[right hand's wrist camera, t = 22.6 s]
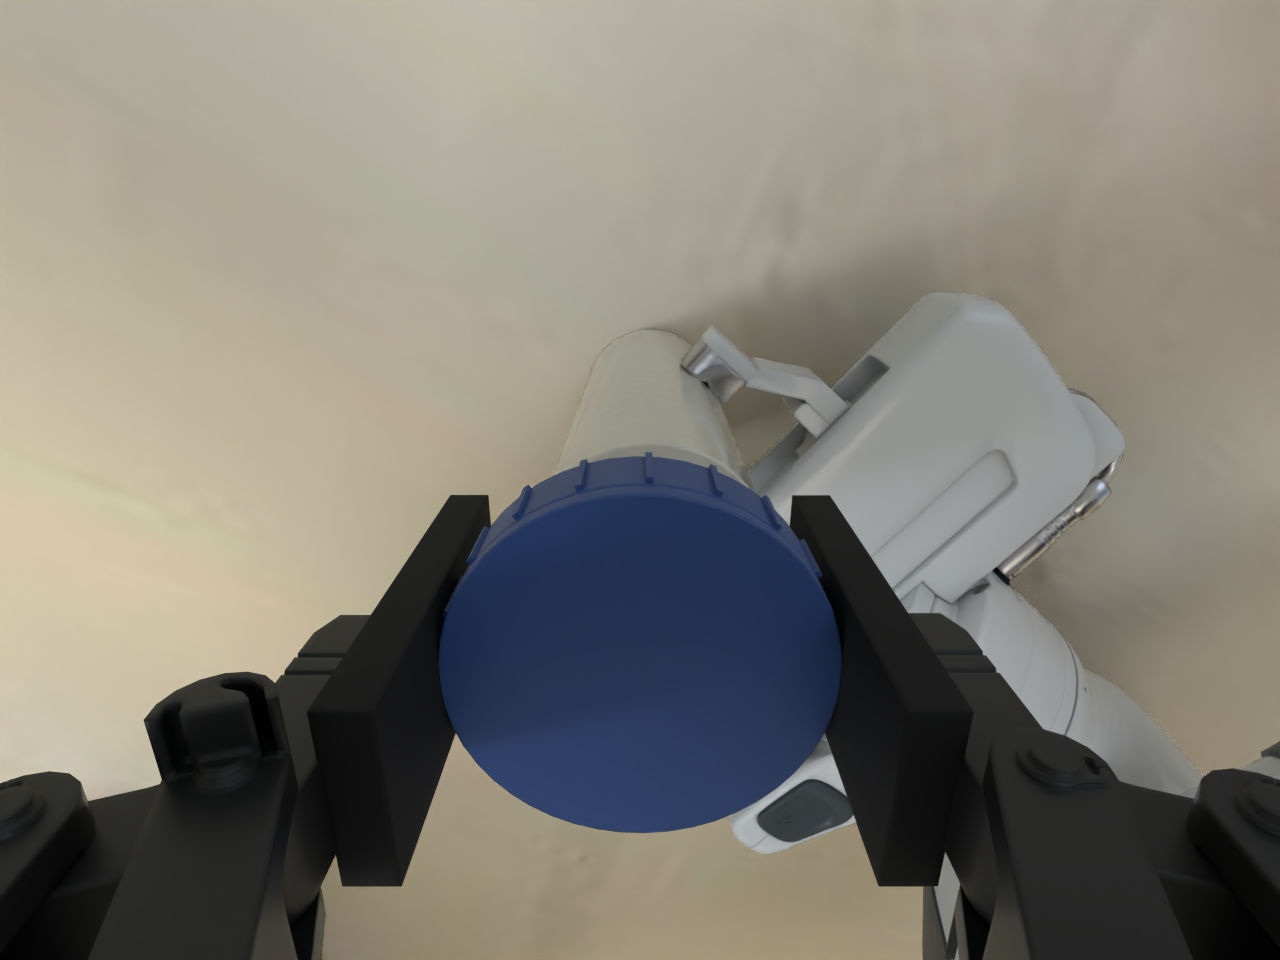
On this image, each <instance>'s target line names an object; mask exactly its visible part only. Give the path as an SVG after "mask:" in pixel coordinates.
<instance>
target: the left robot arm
mask: <svg viewBox="0 0 1280 960" xmlns="http://www.w3.org/2000/svg"><path fill="white" fill-rule="evenodd" d="M682 361H683V363H682V364H683V366H684V367H685V368H686V369H687V370H688V371H689V372H690V374H691V375H693V376H694V377H695V378H697V379H698V380H699V381H701V382H707V385H708V388H709V390H710V391H711V392H712V393H713V394H714V395H715V396H716V397H717V398H718V399H719V400H720V401H722V402H723V403H724V404H725V403H726V402H727V401H728V400H729V399H730V398H731V397H732V396H733V395H734V394H735V393H736V392H737V391H738V390H739V389H740V388H741V387H742V386H743V385H744V387H747V388H751V389H756V390H761V391H765V392H770V393H774V394H779V395H783V396H782V401H783V403H784V404H785V405H786V407H787V408H788V409H789V411H790V412H791V413H792V415H793V416H794V417H795V418H796V419H797V420H798V421H797V422H796V423H795V424H794V425H793V426H792V427H791V428H790V429H789V430H788V431H787V432H786V433H785V434H784V435H783V436H782V437H781V438H780V439H779V440H778V441H777V442H776V443H775V444H774V445H773V446H772V447H771V448H770V449H769V450H768V451H767V452H766V453H765V454H764V455H763V456H762V457H761V458H760V459H759V460H758V461H757V462H756V463H755V464H754V465H753V466H752V467H751V468H750V469H749V470H748V474H749V477H750V479H751V482H752V484H753V487H754V489H755V492H756V494H757V495H759V496H760V497H761V498H762V497H763V496H764V495H767V496H768V497H769V498H770V500H771V502H772V505H773V507H774V509H775V510H776V511H777V512H778V514H779V515H780V516H781V517H782V518H783V519H784V520H785V521H786V522H787V524H788V525H789V526H790V515H791V503H792V495H830V496H831V498H832V499H833V501H834V502H835V504H836V505H837V507H838V508H839V510H840V511H841V513H842V514H843V516H844V517H845V519H846V520H847V522H848V523H849V525H850V526H851V528H852V529H853V531H854V532H855V534H856V535H857V537H858V538H859V540H860V541H861V543H862V544H863V546H864V547H865V549H866V550H867V552H868V553H869V555H870V556H871V558H872V559H873V561H874V562H875V564H876V565H877V567H878V568H879V570H880V571H881V573H882V574H883V576H884V577H885V579H886V580H887V582H888V583H889V585H890V586H891V588H892V589H893V591H894V592H895V594H896V595H897V597H898V598H899V600H900V601H901V603H902V604H903V606H904V607H905V609H906V610H907V612H908V613H941V614H943V615H944V616H946V617H947V618H949V619H950V620H952V621H953V622H955V623H956V624H958V625H959V626H961V627H962V628H964V629H965V630H967V631H968V633H969V634H970V635H971V637H972V638H973V639H974V640H975V642H976V643H977V644H978V646H979V647H980V648H981V649H982V651H983V655H986V656H987V657H988V658H989V660H990V661H991V662H992V664H993V665H994V666H995V667H996V672H997V673H1000V674H1001V675H1002V676H1003V678H1004V679H1005V680H1006V682H1007V683H1008V684H1009V685H1010V687H1011V688H1012V689H1013V691H1014V692H1015V693H1016V694H1017V696H1018V697H1019V698H1020V700H1021V701H1022V702H1023V703H1024V705H1025V706H1026V707H1027V709H1028V710H1029V711H1030V712H1031V714H1032V715H1033V716H1034V718H1035V719H1036V720H1037V721H1038V723H1039V724H1040V725H1041V727H1042V728H1043V729H1045V730H1048V731H1052V732H1055V733H1058V734H1062V735H1065V736H1067V737H1069V738H1071V739H1073V740H1075V741H1077V742H1079V743H1081V744H1083V745H1085V746H1087V747H1088V748H1090V749H1091V750H1092V751H1093V752H1095V753H1096V754H1097V755H1098V756H1100V757H1101V758H1102V759H1103V760H1104V761H1106V762H1107V763H1108V765H1109V766H1110V768H1111V769H1112V771H1113V772H1114V774H1115V775H1116V776H1117V778H1118V780H1119V781H1121V782H1125V783H1128V784H1132V785H1135V786H1140V787H1144V788H1149V789H1153V790H1157V791H1162V792H1166V793H1171V794H1175V795H1180V796H1184V797H1189V798H1193V799H1194V797H1195V794H1196V792H1197V789H1198V786H1199V783H1200V781H1201V779H1202V778H1203V776H1202V774H1201V773H1200V772H1199V771H1198V769H1197V768H1196V767H1195V766H1194V765H1193V763H1192V762H1191V761H1190V760H1189V759H1188V757H1187V756H1186V755H1185V754H1184V753H1183V752H1182V750H1181V749H1180V748H1179V747H1178V746H1177V745H1176V744H1175V743H1174V741H1173V740H1172V739H1171V738H1170V737H1169V736H1168V735H1167V734H1166V733H1165V732H1164V731H1163V730H1162V729H1161V728H1160V727H1159V726H1158V724H1157V723H1156V722H1155V721H1154V720H1153V719H1152V718H1151V717H1150V716H1149V715H1148V714H1147V713H1145V712H1144V711H1143V710H1142V709H1141V708H1140V707H1139V706H1138V705H1137V704H1136V703H1135V702H1134V701H1133V700H1132V699H1131V698H1130V697H1129V696H1128V695H1126V694H1125V693H1124V692H1123V691H1122V690H1121V689H1119V688H1118V687H1117V686H1115V685H1114V684H1112V683H1111V682H1109V681H1108V680H1106V679H1104V678H1102V677H1100V676H1099V675H1097V674H1095V673H1092V672H1090V671H1088V670H1085V669H1084V668H1083V666H1082V664H1081V662H1080V660H1079V658H1078V656H1077V654H1076V652H1075V651H1074V649H1073V648H1072V646H1071V645H1070V643H1069V642H1068V641H1067V640H1066V639H1065V637H1064V636H1063V635H1062V634H1061V633H1060V632H1059V631H1058V630H1057V629H1056V628H1055V627H1054V626H1053V625H1052V624H1051V623H1050V622H1049V621H1048V620H1046V619H1045V618H1044V617H1043V616H1042V615H1041V614H1040V613H1039V612H1038V611H1037V610H1036V609H1035V608H1034V607H1033V606H1032V605H1031V604H1029V603H1028V602H1027V601H1026V600H1025V599H1024V598H1023V597H1022V596H1021V595H1020V594H1019V593H1018V592H1017V591H1016V590H1014V589H1013V588H1012V587H1011V586H1010V583H1009V581H1011V580H1012V579H1013V578H1014V577H1016V576H1017V575H1018V574H1019V573H1021V572H1022V571H1023V570H1024V569H1025V568H1027V567H1028V566H1029V565H1030V564H1031V563H1033V562H1034V561H1035V560H1036V559H1038V558H1039V557H1040V556H1041V555H1042V554H1043V553H1044V552H1046V551H1047V550H1048V549H1049V548H1050V545H1053V544H1054V542H1055V541H1056V539H1058V538H1059V537H1060V536H1061V535H1062V533H1064V532H1066V531H1067V530H1068V527H1072V526H1073V525H1074V524H1075V523H1076V522H1078V521H1079V520H1080V519H1081V520H1084V519H1085V518H1087V517H1088V516H1090V515H1091V514H1092V513H1094V512H1095V511H1096V510H1097V509H1098V508H1099V507H1100V506H1101V505H1102V504H1103V503H1104V502H1105V501H1106V500H1107V499H1108V497H1109V496H1110V495H1111V493H1112V491H1111V489H1110V488H1109V486H1108V484H1109V482H1110V481H1111V480H1112V478H1113V477H1114V476H1115V474H1116V472H1117V471H1118V468H1119V466H1120V464H1121V461H1122V457H1123V452H1124V450H1125V446H1126V444H1125V439H1124V437H1123V434H1122V433H1121V431H1120V429H1119V428H1118V426H1117V425H1116V423H1115V422H1114V421H1113V420H1112V419H1111V418H1110V417H1109V416H1108V415H1107V414H1106V413H1105V412H1104V410H1103V409H1102V408H1101V407H1100V406H1099V405H1098V404H1097V403H1096V402H1095V401H1094V400H1093V399H1092V398H1091V397H1090V396H1089V395H1087V394H1086V393H1084V392H1082V391H1079V390H1077V389H1073V388H1068V387H1066V385H1065V384H1064V382H1063V381H1062V379H1061V378H1060V376H1059V375H1058V373H1057V371H1056V370H1055V368H1054V367H1053V366H1052V364H1051V363H1050V361H1049V360H1048V359H1047V357H1046V356H1045V354H1044V353H1043V352H1042V350H1041V349H1040V348H1039V346H1038V345H1037V344H1036V342H1035V341H1034V340H1033V338H1032V337H1031V336H1030V335H1029V333H1028V332H1027V331H1026V330H1025V328H1024V327H1023V326H1022V325H1021V323H1020V322H1019V321H1018V320H1017V319H1016V318H1015V317H1014V316H1013V315H1012V314H1011V313H1010V312H1009V311H1008V310H1007V309H1006V308H1005V307H1004V306H1002V305H1000V304H999V303H997V302H995V301H993V300H990V299H988V298H985V297H982V296H979V295H974V294H968V293H931V294H928V295H926V296H924V297H923V298H921V299H920V300H919V301H918V302H917V303H916V304H915V305H914V306H913V307H912V308H911V309H910V310H909V311H908V312H907V313H906V314H905V315H904V316H903V317H902V318H901V319H900V320H899V321H898V322H897V323H896V324H895V325H894V326H893V327H892V328H891V329H890V330H889V331H888V332H887V333H886V334H885V335H884V336H883V337H882V338H881V339H880V340H879V341H878V342H877V343H876V344H875V345H874V346H873V347H872V348H871V349H870V350H869V351H868V352H867V353H866V354H865V355H864V356H863V357H862V358H861V359H860V360H859V361H858V362H857V363H856V364H855V365H854V366H853V367H852V368H851V369H850V370H849V371H848V372H847V373H846V374H845V375H844V376H843V377H842V378H841V379H840V380H839V381H838V382H837V383H836V384H835V385H834V386H833V387H832V388H830V387H828V386H827V385H826V384H825V383H824V382H823V381H822V380H821V379H820V378H819V377H818V376H817V375H816V374H815V373H813V372H812V371H811V370H810V369H809V368H806V367H801V366H796V365H791V364H786V363H781V362H776V361H771V360H766V359H761V358H756V357H752V358H751V359H749V358H748V357H747V356H746V355H745V354H744V353H743V352H741V351H740V350H739V349H738V348H737V347H736V346H735V345H734V344H733V343H732V342H731V341H730V340H729V339H727V338H726V337H725V336H724V335H723V334H722V333H721V332H720V331H719V330H717V329H716V328H715V327H714V326H712V325H711V326H710V327H709V328H708V329H707V331H706V332H705V333H704V334H703V335H702V336H701V337H700V338H699V339H698V340H697V342H696V343H695V344H694V345H693V346H692V347H691V348H690V349H689V351H688V352H687V353H686V354H685V355H684V356H683V357H682ZM1099 472H1100V473H1099ZM1098 473H1099V475H1098V476H1096V475H1097V474H1098ZM1261 756H1262V758H1260V759H1258V760H1256V761H1254V762H1251V763H1249V764H1247V765H1245V766H1242V767H1240V768H1238V770H1244V771H1250V772H1256V773H1261V774H1264V775H1267V776H1270V777H1273V778H1275V779H1279V780H1280V741H1279V742H1278V743H1276V744H1274V745H1272V746H1271V747H1269V748H1267V749H1265V750H1264V751H1262V752H1261ZM728 819H729V823H730V826H731V829H732V832H733V834H734V836H735V837H736V838H737V839H738V840H739V841H740V842H741V843H742V844H744V845H745V846H746V847H748V848H749V849H751V850H753V851H755V852H757V853H760V854H773V853H778V852H781V851H784V850H786V849H789V848H791V847H794V846H796V845H798V844H801V843H803V842H806V841H808V840H811V839H813V838H816V837H818V836H821V835H823V834H826V833H828V832H831V831H834V830H837V829H839V828H842V827H845V826H848V825H851V824H854V823H856V820H855V818H854V815H853V812H852V809H851V806H850V803H849V801H848V798H847V795H846V792H845V789H844V786H843V783H842V781H841V778H840V775H839V772H838V769H837V766H836V764H835V761H834V758H833V755H832V752H831V749H830V747H829V744H828V741H827V738H826V735H825V733H824V735H823V737H822V739H821V740H820V742H819V743H818V745H817V746H816V747H815V749H814V750H813V752H812V753H811V755H810V756H809V758H808V759H807V760H806V761H805V762H804V763H803V764H802V765H801V766H800V767H799V769H798V770H797V771H796V772H795V773H794V774H793V775H792V776H791V777H790V778H788V779H787V780H786V781H785V782H784V783H783V784H781V785H780V786H779V787H778V788H777V789H775V790H774V791H772V792H771V793H770V794H768V795H767V796H765V797H764V798H762V799H761V800H759V801H758V802H756V803H754V804H752V805H750V806H748V807H746V808H744V809H742V810H741V811H739V812H737V813H734V814H732V815H729V816H728ZM959 886H960V882H959V880H958V878H957V876H956V874H955V871H954V869H953V867H952V865H951V863H950V861H949V859H948V857H947V855H946V853H945V855H944V860H943V865H942V870H941V874H940V879H939V884H938V886H923V945H922V947H923V960H953V959H949V958H945V953H946V947H947V940H948V936H949V931H950V927H951V922H952V918H953V913H954V909H955V904H956V900H957V895H958V891H959ZM955 960H959V953H958V947H957V951H956V956H955Z"/></svg>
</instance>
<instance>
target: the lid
mask: <svg viewBox="0 0 1280 960" xmlns="http://www.w3.org/2000/svg"><path fill="white" fill-rule="evenodd" d="M466 562H467V563H469V566H468V568H467V570H466V572H465V574H464V576H461V577H460V579H459V581H458V583H457V586H456V588H455V590H454V592H453V594H452V596H451V598H450V600H449V602H448V604H447V606H446V608H445V610H444V613H443V617H445V619H444V623H443V627H442V631H441V635H440V640H439V652H438V665H439V674H440V683H441V690H442V698H443V702H444V706H445V709H446V711H447V714H448V716H449V719H450V722H451V724H452V727H453V728H454V730H455V732H456V734H457V735H458V737H459V739H460V741H461V742H462V744H463V746H464V747H465V749H466V750H467V751H468V753H469V754H470V755H471V756H472V758H473V759H474V760H475V762H476V763H477V764H478V765H479V766H480V767H481V768H482V769H483V770H484V771H485V772H486V773H487V774H488V775H489V776H490V777H491V778H492V779H493V780H494V781H495V782H496V783H498V784H499V785H500V786H502V787H503V788H504V789H505V790H507V791H508V792H509V793H510V794H512V795H514V796H515V797H517V798H518V799H520V800H522V801H523V802H525V803H527V804H528V805H530V806H532V807H534V808H536V809H538V810H540V811H542V812H544V813H547V814H549V815H551V816H553V817H556V818H559V819H562V820H565V821H568V822H571V823H574V824H578V825H582V826H586V827H590V828H595V829H600V830H608V831H615V832H630V833H652V832H666V831H674V830H679V829H685V828H691V827H695V826H699V825H702V824H706V823H710V822H713V821H716V820H719V819H721V818H724V817H726V816H729V815H732V814H734V813H737V812H739V811H741V810H742V809H744V808H746V807H748V806H750V805H752V804H754V803H756V802H758V801H759V800H761V799H762V798H764V797H765V796H767V795H768V794H770V793H771V792H772V791H774V790H775V789H777V788H778V787H779V786H780V785H781V784H783V783H784V782H785V781H786V780H787V779H788V778H790V777H791V776H792V775H793V774H794V773H795V772H796V771H797V770H798V769H799V767H800V766H801V765H802V764H803V763H804V762H805V761H806V760H807V759H808V758H809V756H810V755H811V753H812V752H813V750H814V749H815V747H816V746H817V745H818V743H819V742H820V740H821V739H822V737H823V735H824V733H825V731H826V729H827V727H828V725H829V723H830V721H831V718H832V715H833V712H834V709H835V706H836V703H837V700H838V694H839V686H840V679H841V669H842V647H841V640H840V633H839V629H838V625H837V622H836V619H835V616H834V613H833V609H832V607H831V605H830V603H829V601H828V599H827V597H826V595H825V592H824V590H823V588H822V586H821V584H820V582H819V580H818V578H819V577H821V576H822V573H821V571H820V569H819V567H818V565H817V563H816V561H815V559H814V557H813V555H812V553H811V551H810V549H809V547H808V545H807V543H806V542H805V540H804V539H802V540H800V541H799V539H798V538H797V537H796V535H795V534H794V532H793V531H792V529H791V528H790V526H789V525H788V524H787V522H786V521H785V520H784V519H783V518H782V517H781V516H780V515H779V514H778V512H777V511H776V510H775V509H774V507H773V505H772V502H771V500H770V498H769V497H768V496H767V495H764V496H763V497H762V498H761V497H760V496H759V495H757V494H756V493H755V492H754V491H752V490H751V489H749V488H747V487H746V486H744V485H743V484H741V483H739V482H738V481H736V480H734V479H733V478H730V477H728V476H726V475H724V474H721V473H719V472H718V471H717V467H716V466H714V465H712V464H710V465H709V468H707V467H703V466H700V465H697V464H693V463H690V462H687V461H681V460H675V459H669V458H663V457H653V455H652V452H646V453H645V457H643V456H632V457H620V458H609V459H605V460H600V461H595V462H591V463H588V461H587V459H584V460H581V461H580V464H579V466H577V467H574V468H571V469H568V470H566V471H563V472H560V473H558V474H556V475H554V476H552V477H550V478H548V479H546V480H545V481H543V482H541V483H539V484H537V485H536V486H534V487H533V488H532V489H531V487H530V486H529V485H527V486H526V487H524V488H523V490H522V493H521V495H520V497H519V498H518V499H517V500H515V501H514V502H513V503H512V504H511V505H510V506H509V507H508V508H507V509H506V510H504V511H503V512H502V514H501V515H500V516H499V517H498V518H497V520H496V521H495V522H494V523H493V524H492V526H491V527H490V528H488V527H486V526H484V528H483V529H482V531H481V533H480V535H479V537H478V539H477V541H476V543H475V545H474V547H473V549H472V551H471V553H470V555H469V557H468V559H467V561H466Z"/></svg>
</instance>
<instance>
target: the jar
mask: <svg viewBox="0 0 1280 960" xmlns="http://www.w3.org/2000/svg"><path fill="white" fill-rule="evenodd" d="M691 347H692V346H691V345H690V344H689V343H688V342H686V341H685V340H683V339H682V338H680V337H679V336H676V335H674V334H672V333H669V332H665V331H661V330H651V329H646V330H638V331H634V332H630V333H628V334H625V335H623V336H621V337H619V338H617V339H616V340H614V341H613V342H612V343H610V344H609V345H608V346H607V347H606V348H605V349H604V350H603V351H602V352H601V354H600V355H599V356H598V358H597V360H596V361H595V363H594V366H593V368H592V370H591V373H590V376H589V379H588V381H587V384H586V387H585V390H584V392H583V395H582V398H581V401H580V403H579V406H578V409H577V412H576V414H575V417H574V420H573V423H572V425H571V428H570V431H569V434H568V436H567V439H566V442H565V445H564V447H563V450H562V453H561V456H560V458H559V461H558V464H557V467H556V469H555V472H554V475H556V474H558V473H560V472H563V471H566V470H568V469H571V468H574V467H577V466H579V464H580V461H581V460H584V459H587V461H588V463H591V462H595V461H600V460H605V459H609V458H620V457H632V456H643V457H645V453H646V452H652V455H653V457H663V458H669V459H675V460H681V461H687V462H690V463H693V464H697V465H700V466H703V467H707V468H709V465H710V464H712V465H714V466H716V467H717V471H718V472H719V473H721V474H724V475H726V476H728V477H730V478H733V479H734V480H736V481H738V482H739V483H741V484H743V485H744V486H746V487H747V488H749V489H751V490H752V491H754V492H755V489H754V487H753V484H752V482H751V479H750V477H749V474H748V471H747V469H746V466H745V464H744V461H743V459H742V456H741V454H740V451H739V449H738V446H737V444H736V441H735V438H734V436H733V433H732V431H731V428H730V426H729V423H728V421H727V418H726V416H725V413H724V411H723V408H722V405H721V403H720V400H719V399H718V398H717V397H716V396H715V395H714V394H713V393H712V392H711V391H710V390H709V388H708V385H707V382H701V381H699V380H698V379H697V378H695V377H694V376H693V375H691V374H690V372H689V371H688V370H687V369H686V368H685V367H684V366H683V364H682V363H683V361H682V357H683V356H684V355H685V354H686V353H687V352H688V351H689V349H690V348H691ZM554 475H553V476H554ZM755 493H756V492H755Z"/></svg>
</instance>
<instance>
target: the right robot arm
mask: <svg viewBox="0 0 1280 960" xmlns="http://www.w3.org/2000/svg"><path fill="white" fill-rule="evenodd" d="M484 526H486V527H488V528H490V527H491V522H490V510H489V498H488V495H450V497H449V498H448V500H447V501H446V503H445V504H444V506H443V507H442V509H441V510H440V512H439V513H438V515H437V516H436V518H435V519H434V521H433V522H432V524H431V525H430V527H429V528H428V530H427V531H426V533H425V534H424V536H423V537H422V539H421V540H420V542H419V543H418V545H417V546H416V548H415V549H414V551H413V552H412V554H411V555H410V557H409V558H408V560H407V561H406V563H405V564H404V566H403V567H402V569H401V571H400V572H399V574H398V575H397V577H396V578H395V580H394V581H393V583H392V584H391V586H390V587H389V589H388V590H387V592H386V593H385V595H384V596H383V598H382V599H381V601H380V602H379V604H378V605H377V607H376V608H375V610H374V611H373V613H372V614H371V615H340V616H338V617H337V618H335V619H334V620H332V621H331V622H329V623H328V624H326V625H325V626H323V627H322V628H321V629H319V630H318V631H316V632H315V633H313V635H312V636H311V637H310V639H309V640H308V641H307V643H306V644H305V645H304V646H303V648H302V649H301V650H300V652H299V653H298V658H294V659H293V661H292V662H291V663H290V665H289V666H288V667H287V669H286V670H285V674H284V675H281V676H280V678H279V679H278V680H277V681H276V683H274V682H273V681H272V680H271V679H269V678H268V677H267V676H266V675H261V674H256V673H251V672H237V673H224V674H220V675H217V676H213V677H209V678H205V679H201V680H199V681H196V682H194V683H192V684H190V685H187V686H185V687H183V688H181V689H179V690H176V691H175V692H173V693H172V694H171V695H169V696H168V697H166V698H165V699H163V700H162V701H161V702H159V703H158V704H156V705H155V707H154V708H153V709H152V710H151V712H150V713H149V714H148V715H147V717H146V718H145V719H144V723H145V726H146V729H147V733H148V736H149V739H150V742H151V746H152V749H153V752H154V755H155V759H156V762H157V765H158V768H159V772H160V775H161V778H162V781H161V783H160V784H159V785H156V786H152V787H149V788H145V789H141V790H136V791H132V792H127V793H123V794H118V795H114V796H110V797H105V798H101V799H96V800H92V801H87V798H86V795H85V793H84V790H83V787H82V784H81V782H80V781H79V780H77V779H76V778H75V777H73V776H72V775H71V774H69V773H59V772H50V771H49V772H43V773H37V774H31V775H25V776H21V777H18V778H15V779H12V780H9V781H7V782H3V783H0V960H321V955H322V945H323V935H324V925H325V915H326V913H325V907H324V900H323V895H322V891H321V885H322V882H323V880H324V878H325V876H326V874H327V872H328V870H329V868H330V865H331V863H332V861H333V859H334V857H335V855H336V858H337V862H338V867H339V872H340V877H341V882H342V886H402V884H403V881H404V878H405V876H406V873H407V870H408V867H409V864H410V861H411V859H412V856H413V853H414V850H415V847H416V844H417V841H418V839H419V836H420V833H421V830H422V827H423V824H424V822H425V819H426V816H427V813H428V810H429V807H430V805H431V802H432V799H433V796H434V793H435V790H436V788H437V785H438V782H439V779H440V776H441V773H442V771H443V768H444V765H445V762H446V759H447V756H448V754H449V751H450V748H451V745H452V742H453V739H454V736H455V734H456V732H455V730H454V728H453V727H452V724H451V722H450V719H449V716H448V714H447V711H446V709H445V706H444V702H443V698H442V690H441V683H440V674H439V665H438V652H439V640H440V635H441V631H442V627H443V623H444V619H445V617H443V613H444V610H445V608H446V606H447V604H448V602H449V600H450V598H451V596H452V594H453V592H454V590H455V588H456V586H457V583H458V581H459V579H460V577H461V576H464V574H465V572H466V570H467V568H468V566H469V563H467V562H466V561H467V559H468V557H469V555H470V553H471V551H472V549H473V547H474V545H475V543H476V541H477V539H478V537H479V535H480V533H481V531H482V529H483V528H484ZM790 528H791V529H792V531H793V532H794V534H795V535H796V537H797V538H798V539H799V541H800V540H802V539H804V540H805V542H806V543H807V545H808V547H809V549H810V551H811V553H812V555H813V557H814V559H815V561H816V563H817V565H818V567H819V569H820V571H821V573H822V576H821V577H819V578H818V580H819V582H820V584H821V586H822V588H823V590H824V592H825V595H826V597H827V599H828V601H829V603H830V605H831V607H832V609H833V613H834V616H835V619H836V622H837V625H838V629H839V633H840V640H841V647H842V669H841V679H840V686H839V694H838V700H837V703H836V706H835V709H834V712H833V715H832V718H831V721H830V723H829V725H828V727H827V729H826V731H825V735H826V738H827V741H828V744H829V747H830V749H831V752H832V755H833V758H834V761H835V764H836V766H837V769H838V772H839V775H840V778H841V781H842V783H843V786H844V789H845V792H846V795H847V798H848V801H849V803H850V806H851V809H852V812H853V815H854V818H855V820H856V823H857V826H858V829H859V832H860V835H861V837H862V840H863V843H864V846H865V849H866V852H867V854H868V857H869V860H870V863H871V866H872V869H873V871H874V874H875V877H876V880H877V883H878V886H938V884H939V879H940V874H941V870H942V865H943V860H944V855H945V853H946V855H947V857H948V859H949V861H950V863H951V865H952V867H953V869H954V871H955V874H956V876H957V878H958V880H959V882H960V886H959V891H958V895H957V900H956V904H955V909H954V913H953V918H952V922H951V927H950V931H949V936H948V940H947V947H946V953H945V958H949V959H953V960H955V956H956V951H957V947H958V953H959V960H1280V780H1279V779H1275V778H1273V777H1270V776H1267V775H1264V774H1261V773H1256V772H1250V771H1244V770H1238V769H1223V770H1214V771H1211V772H1210V773H1209V774H1207V775H1206V776H1204V777H1203V778H1202V779H1201V781H1200V783H1199V786H1198V789H1197V792H1196V794H1195V797H1194V799H1193V798H1189V797H1184V796H1180V795H1175V794H1171V793H1166V792H1162V791H1157V790H1153V789H1149V788H1144V787H1140V786H1135V785H1132V784H1128V783H1125V782H1121V781H1119V780H1118V778H1117V776H1116V775H1115V774H1114V772H1113V771H1112V769H1111V768H1110V766H1109V765H1108V763H1107V762H1106V761H1104V760H1103V759H1102V758H1101V757H1100V756H1098V755H1097V754H1096V753H1095V752H1093V751H1092V750H1091V749H1090V748H1088V747H1087V746H1085V745H1083V744H1081V743H1079V742H1077V741H1075V740H1073V739H1071V738H1069V737H1067V736H1065V735H1062V734H1058V733H1055V732H1052V731H1048V730H1045V729H1043V728H1042V727H1041V725H1040V724H1039V723H1038V721H1037V720H1036V719H1035V718H1034V716H1033V715H1032V714H1031V712H1030V711H1029V710H1028V709H1027V707H1026V706H1025V705H1024V703H1023V702H1022V701H1021V700H1020V698H1019V697H1018V696H1017V694H1016V693H1015V692H1014V691H1013V689H1012V688H1011V687H1010V685H1009V684H1008V683H1007V682H1006V680H1005V679H1004V678H1003V676H1002V675H1001V674H1000V673H997V672H996V667H995V666H994V665H993V664H992V662H991V661H990V660H989V658H988V657H987V656H986V655H983V651H982V649H981V648H980V647H979V646H978V644H977V643H976V642H975V640H974V639H973V638H972V637H971V635H970V634H969V633H968V631H967V630H965V629H964V628H962V627H961V626H959V625H958V624H956V623H955V622H953V621H952V620H950V619H949V618H947V617H946V616H944V615H943V614H941V613H908V612H907V610H906V609H905V607H904V606H903V604H902V603H901V601H900V600H899V598H898V597H897V595H896V594H895V592H894V591H893V589H892V588H891V586H890V585H889V583H888V582H887V580H886V579H885V577H884V576H883V574H882V573H881V571H880V570H879V568H878V567H877V565H876V564H875V562H874V561H873V559H872V558H871V556H870V555H869V553H868V552H867V550H866V549H865V547H864V546H863V544H862V543H861V541H860V540H859V538H858V537H857V535H856V534H855V532H854V531H853V529H852V528H851V526H850V525H849V523H848V522H847V520H846V519H845V517H844V516H843V514H842V513H841V511H840V510H839V508H838V507H837V505H836V504H835V502H834V501H833V499H832V498H831V496H830V495H792V503H791V515H790Z"/></svg>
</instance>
